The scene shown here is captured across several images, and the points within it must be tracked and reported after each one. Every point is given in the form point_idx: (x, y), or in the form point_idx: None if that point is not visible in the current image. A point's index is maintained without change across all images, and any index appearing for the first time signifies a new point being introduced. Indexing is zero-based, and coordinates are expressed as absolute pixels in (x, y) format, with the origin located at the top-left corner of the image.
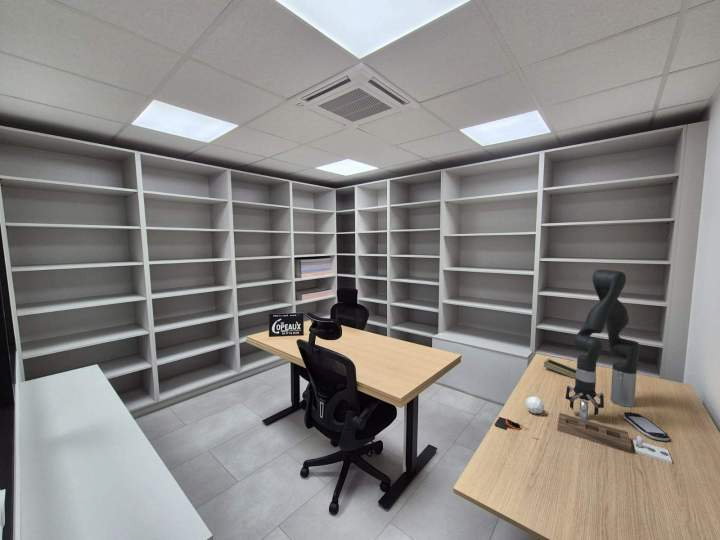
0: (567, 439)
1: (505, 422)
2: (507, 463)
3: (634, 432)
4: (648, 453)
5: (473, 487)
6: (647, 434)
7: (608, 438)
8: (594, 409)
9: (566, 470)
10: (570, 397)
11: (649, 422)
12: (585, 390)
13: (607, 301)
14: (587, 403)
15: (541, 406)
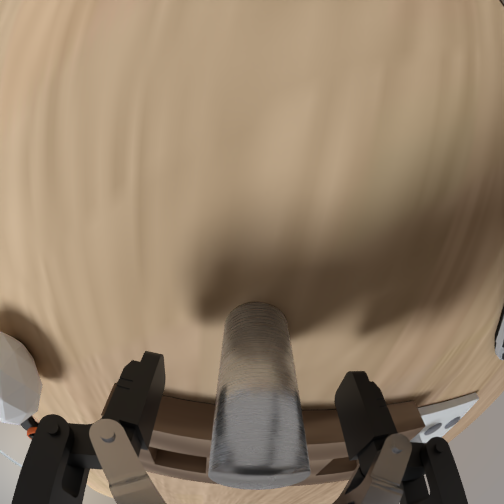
0: None
1: (29, 426)
2: (107, 485)
3: (478, 334)
4: None
5: (103, 493)
6: (498, 355)
7: (309, 483)
8: (352, 426)
9: (188, 498)
10: (96, 462)
11: None
12: None
13: None
14: (290, 484)
15: (29, 416)
